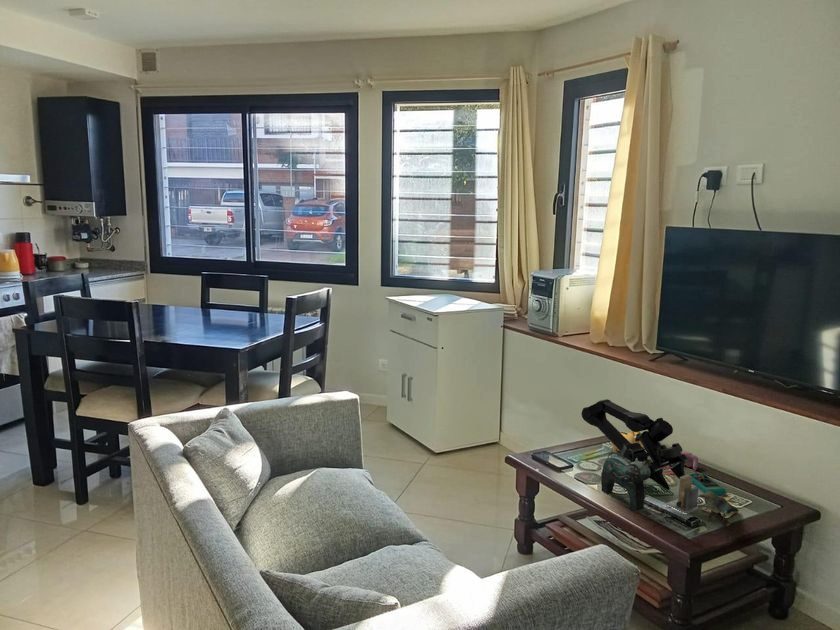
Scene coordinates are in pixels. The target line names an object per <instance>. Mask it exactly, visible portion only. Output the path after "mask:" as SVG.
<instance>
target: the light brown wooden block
mask: <svg viewBox="0 0 840 630" xmlns="http://www.w3.org/2000/svg"><path fill="white" fill-rule="evenodd" d="M678 484H679V485H678V497H677V499H678V502H676V506H680V505H681V506H685V505H686V495H687V490H689V489H691V488H692V476H689V474H685V475H684V476H682V477H680V479H679V483H678Z"/></svg>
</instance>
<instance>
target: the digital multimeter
mask: <svg viewBox="0 0 840 630" xmlns="http://www.w3.org/2000/svg"><path fill="white" fill-rule="evenodd" d="M688 475H689V476H692V484H693V485H694V487H698V488H699V489H698V490H700V491H701V492H702V494H704V493H706V492H708V491H711V492H714V493H715V494H716V495H718V496H725V495H726V492H727V490H726V489H725V488H724V487H723V486H721V484H719V483H717V482H716V481H715V480H713V479H712V478H711V477H710V476H708V475H707V474H706V473H705V472H704V473H703V472H694V473H689V474H688Z"/></svg>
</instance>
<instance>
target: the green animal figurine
mask: <svg viewBox="0 0 840 630" xmlns="http://www.w3.org/2000/svg"><path fill="white" fill-rule="evenodd" d="M628 450H629V451H631V452H632V450H631V449H628ZM628 450H626V452H627V451H628ZM613 454H617V455H615V456H611V455H613ZM632 454H633V452H632ZM610 456H611V457H610ZM600 477H601V478H600V483H601V485H600V486H601V492H603V493H604V494H606V495H609V494H612V493H613V489H614V486H615V484H617V485H618V486H619V487H620V488H623V489H625V490H626V492H627V494H628V497H629V508H630V509H633V510H634V511H636V512H637V511H638V512H639V511H642V510H644V509H645V507H644V506H645V499H646V498H645V496H646V495H645V482H644V481H646V480H648V479H650V468H649V467H648V461H647V462H646V461H644V462H639V461H638V459H637V458H636V459H635V461H634V462H633V459H632V461H629V460H628V459H626V458H624V457H623V456H622V455H621V452H620V453H619V452H618V451H617V452H613V451H611V452H610V453H609V454H608V456H607V458H606V460H604V462H603V466H602V469H601V473H600Z"/></svg>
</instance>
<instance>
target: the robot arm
mask: <svg viewBox="0 0 840 630" xmlns="http://www.w3.org/2000/svg"><path fill="white" fill-rule="evenodd" d="M607 414H608V415H610V416H612V417H614V419H616V420H619V421H621V422H623V423H624V425H625V426H626V428H628V430H630V432H631V431H633V432H639V431H640V433H639V434H636V439H635V441H636V442H637V441H641V443H642V445H643V446H644V448H645V449H644V448H643V447H642V446H641V445H640V444H639V443H638V442H637V443H633V444H632V443H630V442H629V441H628V440H627V439H626V438H625V437H624V436H623V435H622V434H621V433H622V432H621V431H619V429H617V428H616V427H615V426H614V425H613V424H612V423H611V422H610V421H609V420H608V418H607ZM581 418H582V419H583V421H584V422H586V423H587V424H589V425H591V426H594V427H596V428H597V429H598V430H599V431H600V432H601V433H602V434H603V435H604V436H605V437H606V438H607V439H608V441H610V443H611V442H612V443H613V444H614V445H615V446H616V447H617V448H618V449H617V450H619V452H620V454H621V455H622V456H623V457H624V458H626V459H628V460H629V461H632V459H633V462H634V461H635V459H636V458H637V459H638V461H639V462H644V461H646V462H647V465H648V467H649V468H650V478H649V479H650V480H652V481H653V482H655V483H656V484H658V485H659V486H661V487H662V488H663V489H665V490H666V491H670V489H671V488H670V485H669V484H668V482H667V480H666V477H664V474H663V468H666V467H670V470H671V472H672V473H673V474H674V475H675V477H676V478H678V480H680V477H682V476H684V475H686V474H685V468H684V467H685V464H686V462H687V461H688V460H687V458H686V456H685V454H682V453H681V452H682V451H683V448H682V445H680V443H679V442H676V443H672V445H671V446H670V447H667V446H666V445H665V444H661V442H662V441H664V440H666V439H667V437H669V436H671V435H672V434H673V432H674V429H673V428H674V427H673V426H672V424H670V423H669V422H668V421H667V420H664V419H663V417H657V419H655V420H654V419H652V418H650V417H649V416H648V415H647V414H644V413H641V412H634V411H630V410H628V409H626V408H624V407H623V406H621V405H618V404H617V403H614V402H613V401H612V400H611V399H609V398H608V399H607V398H606V399H602V400H598V401H597V402H595V403H594V404H591V405H589V406H586V407H583V408H582V410H581ZM642 431H643V432H642ZM628 449H631V450H632V452H633V454H632V452H631V451H629V450H628ZM626 450H628V451H627V452H626ZM621 455H620V456H621ZM622 456H621V457H622ZM649 458H650V460H651V461H652V462H649V463H648V461H649Z"/></svg>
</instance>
